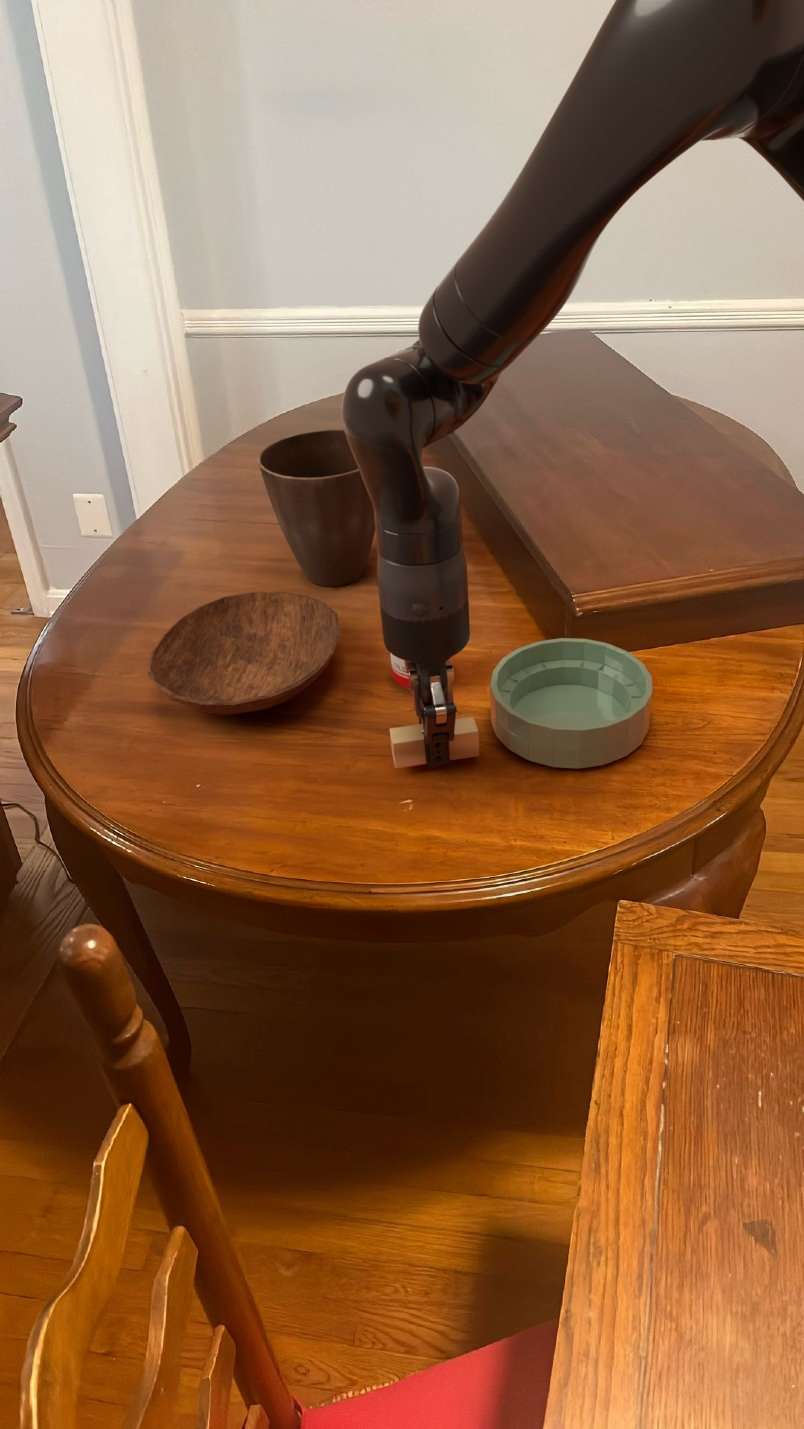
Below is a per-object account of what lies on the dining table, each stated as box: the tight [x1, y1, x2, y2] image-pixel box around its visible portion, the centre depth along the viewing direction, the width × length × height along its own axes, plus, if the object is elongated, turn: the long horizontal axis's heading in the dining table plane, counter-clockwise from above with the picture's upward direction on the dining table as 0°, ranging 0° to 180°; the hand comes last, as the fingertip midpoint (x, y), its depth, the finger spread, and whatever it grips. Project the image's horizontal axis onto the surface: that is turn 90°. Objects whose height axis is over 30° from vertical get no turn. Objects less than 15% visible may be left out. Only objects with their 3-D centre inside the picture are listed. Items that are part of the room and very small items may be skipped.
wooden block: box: [389, 715, 480, 769], centre depth 93 cm, size 8×2×3 cm, turn 98°
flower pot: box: [257, 428, 376, 587], centre depth 121 cm, size 15×15×16 cm
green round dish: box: [489, 637, 654, 770], centre depth 97 cm, size 15×15×5 cm
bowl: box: [147, 591, 341, 716], centre depth 106 cm, size 20×22×5 cm
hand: (435, 753), depth 94 cm, fingers closed on wooden block, 2 cm apart
